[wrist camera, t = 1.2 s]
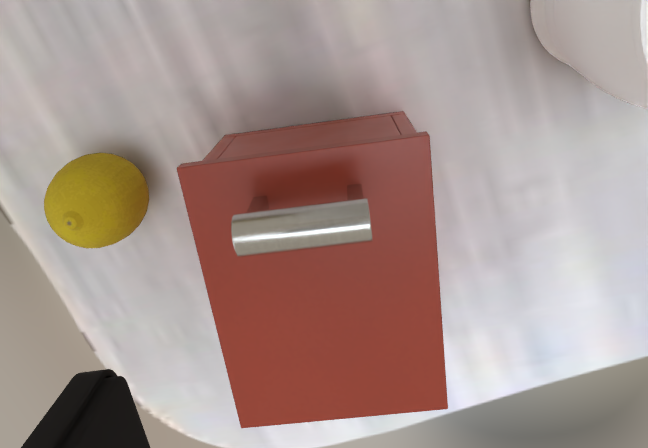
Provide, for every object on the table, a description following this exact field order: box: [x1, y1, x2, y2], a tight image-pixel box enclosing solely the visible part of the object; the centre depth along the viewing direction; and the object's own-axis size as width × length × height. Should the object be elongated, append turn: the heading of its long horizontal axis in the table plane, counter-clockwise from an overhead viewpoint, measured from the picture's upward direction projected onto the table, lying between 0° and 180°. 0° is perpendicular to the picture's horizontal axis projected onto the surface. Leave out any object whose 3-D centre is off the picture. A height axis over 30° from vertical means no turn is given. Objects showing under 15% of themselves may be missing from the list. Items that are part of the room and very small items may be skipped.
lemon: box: [44, 153, 149, 248], centre depth 33 cm, size 6×6×8 cm
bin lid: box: [177, 132, 448, 428], centre depth 26 cm, size 16×12×6 cm
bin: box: [202, 111, 417, 161], centre depth 33 cm, size 15×12×10 cm
